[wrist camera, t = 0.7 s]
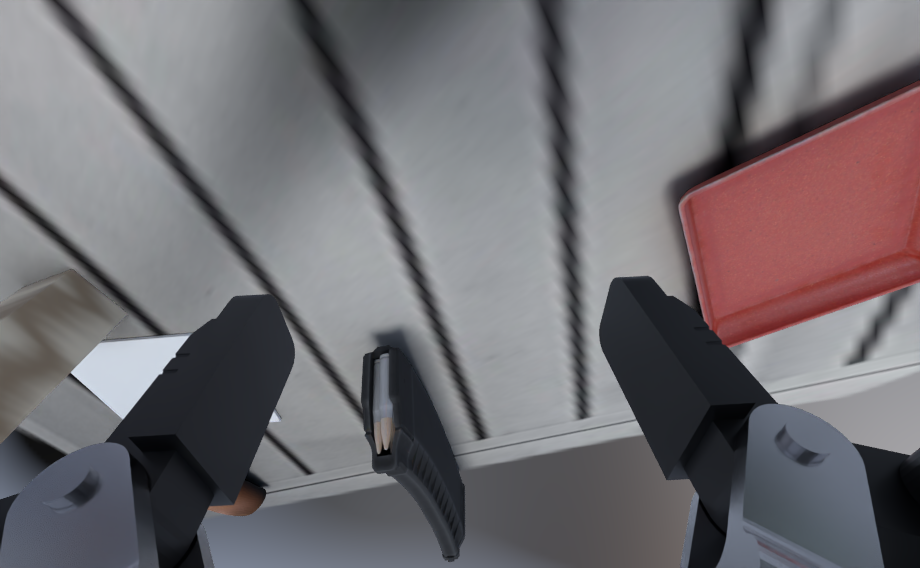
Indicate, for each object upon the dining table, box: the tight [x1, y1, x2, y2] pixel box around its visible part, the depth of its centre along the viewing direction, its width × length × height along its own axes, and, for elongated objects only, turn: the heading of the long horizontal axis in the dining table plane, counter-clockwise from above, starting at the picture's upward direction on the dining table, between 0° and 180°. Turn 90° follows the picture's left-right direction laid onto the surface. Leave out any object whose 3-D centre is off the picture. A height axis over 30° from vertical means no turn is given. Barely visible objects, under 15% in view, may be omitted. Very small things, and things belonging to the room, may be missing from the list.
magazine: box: [361, 345, 465, 562], centre depth 40 cm, size 17×3×30 cm
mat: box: [71, 333, 281, 422], centre depth 37 cm, size 14×16×1 cm
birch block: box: [0, 269, 127, 444], centre depth 25 cm, size 5×5×12 cm
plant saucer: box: [678, 80, 920, 348], centre depth 28 cm, size 18×18×3 cm
